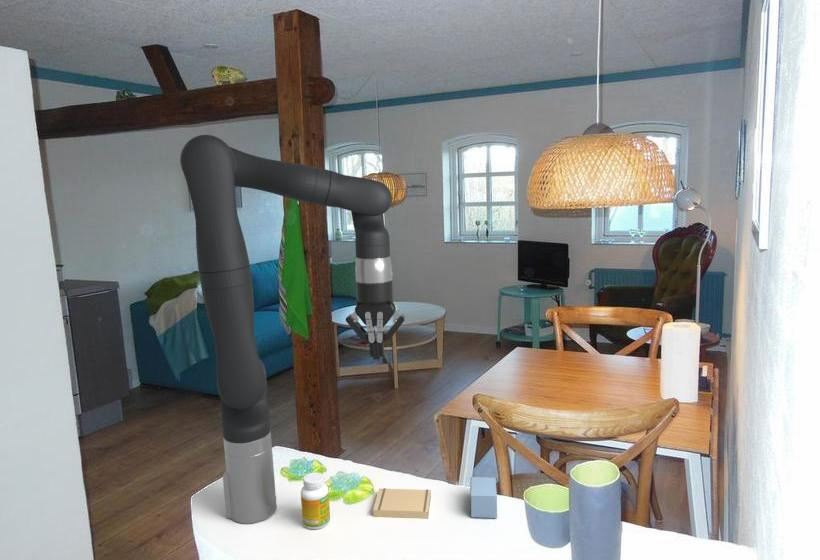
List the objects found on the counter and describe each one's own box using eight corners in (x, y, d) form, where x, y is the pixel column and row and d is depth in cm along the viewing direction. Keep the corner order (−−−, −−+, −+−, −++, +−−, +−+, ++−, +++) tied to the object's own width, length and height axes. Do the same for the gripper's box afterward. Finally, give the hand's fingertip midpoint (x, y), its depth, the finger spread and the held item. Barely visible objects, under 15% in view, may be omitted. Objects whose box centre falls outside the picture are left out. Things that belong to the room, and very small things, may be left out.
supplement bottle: (324, 531, 115) (322, 485, 113) (298, 529, 116) (295, 483, 114) (333, 515, 120) (331, 471, 118) (308, 513, 121) (305, 469, 119)
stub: (470, 517, 117) (470, 495, 116) (470, 497, 124) (470, 477, 123) (496, 518, 117) (496, 496, 116) (495, 498, 124) (495, 477, 123)
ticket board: (373, 516, 119) (373, 509, 119) (379, 494, 127) (379, 488, 126) (428, 518, 118) (427, 511, 117) (430, 496, 126) (430, 489, 125)
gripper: (338, 282, 119) (342, 364, 123) (403, 281, 118) (406, 364, 121) (346, 275, 127) (350, 352, 130) (407, 274, 125) (410, 353, 129)
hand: (377, 358), depth 126 cm, fingers closed
